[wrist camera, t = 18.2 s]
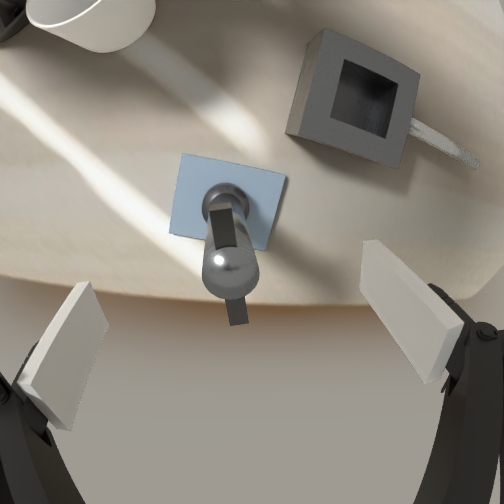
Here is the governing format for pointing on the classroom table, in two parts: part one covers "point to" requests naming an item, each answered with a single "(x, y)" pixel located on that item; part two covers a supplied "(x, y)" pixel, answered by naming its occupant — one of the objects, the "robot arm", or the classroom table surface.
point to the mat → (216, 171)
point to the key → (229, 249)
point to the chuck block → (361, 103)
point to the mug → (93, 21)
